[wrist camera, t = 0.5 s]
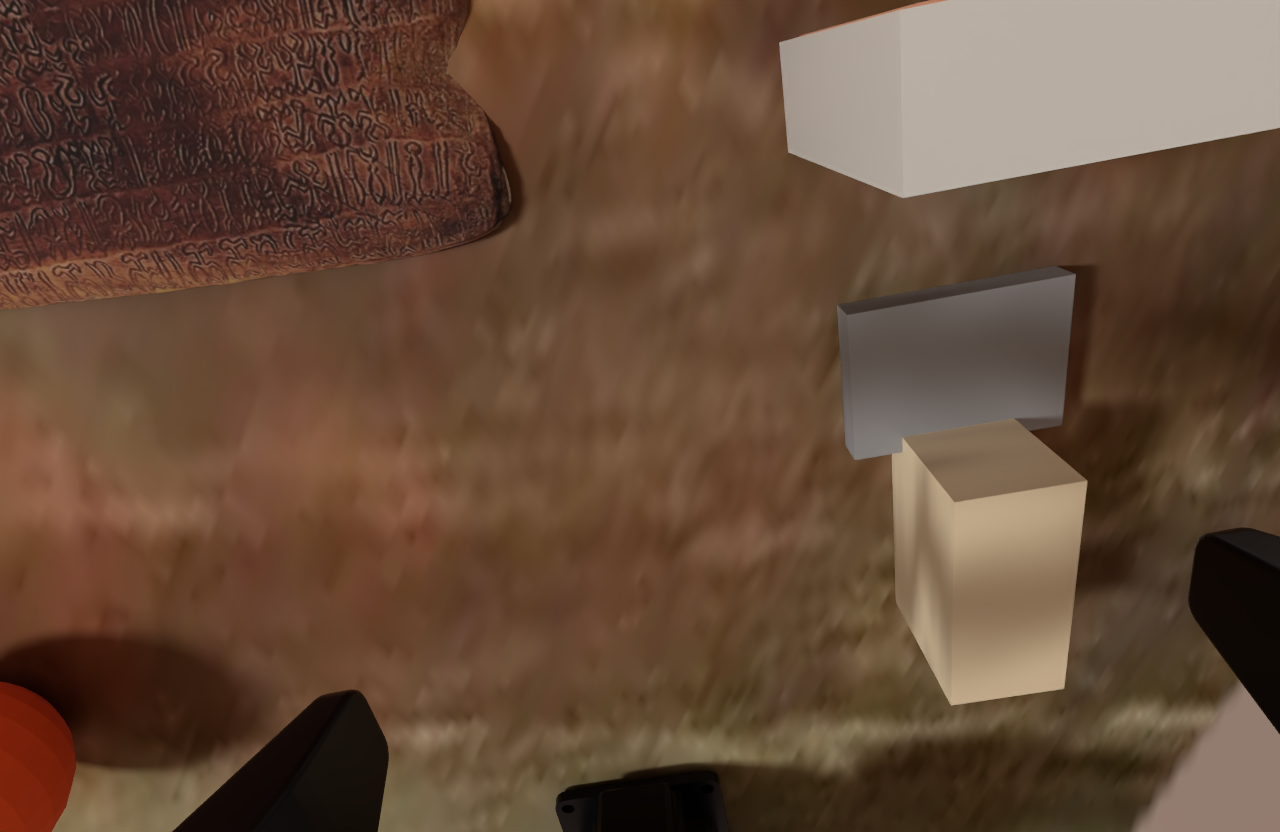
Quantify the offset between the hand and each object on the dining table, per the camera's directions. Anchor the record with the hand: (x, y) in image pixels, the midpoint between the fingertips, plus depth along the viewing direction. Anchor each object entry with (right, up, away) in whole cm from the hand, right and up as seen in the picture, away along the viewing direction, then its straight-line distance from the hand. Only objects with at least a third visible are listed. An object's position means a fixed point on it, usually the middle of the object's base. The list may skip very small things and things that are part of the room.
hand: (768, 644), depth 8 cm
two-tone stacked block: (+8, 0, +15) cm, 17 cm away
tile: (+6, +11, +9) cm, 16 cm away
